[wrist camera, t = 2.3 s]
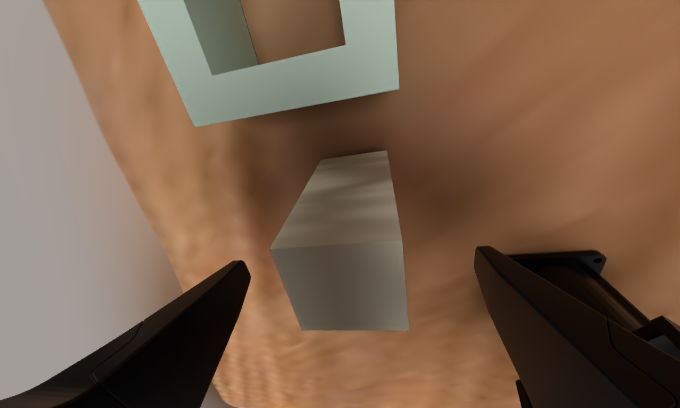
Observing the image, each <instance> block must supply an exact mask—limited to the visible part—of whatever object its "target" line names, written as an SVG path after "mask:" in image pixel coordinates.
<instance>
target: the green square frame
mask: <svg viewBox="0 0 680 408" xmlns="http://www.w3.org/2000/svg"><path fill="white" fill-rule="evenodd" d="M137 1H138V3H139V5H140V7H141V10H142V12H143V14H144V16H145V18H146V21H147V23H148V25H149V27H150V30H151V32H152V34H153V36H154V38H155V41H156V43H157V45H158V47H159V49H160V52H161V54H162V56H163V58H164V61H165V63H166V65H167V67H168V69H169V72H170V74H171V76H172V78H173V81H174V83H175V85H176V87H177V89H178V92H179V94H180V96H181V98H182V101H183V103H184V105H185V107H186V109H187V112H188V114H189V116H190V118H191V120H192V123H193V125H194V127H199V126H204V125H209V124H215V123H220V122H226V121H231V120H236V119H242V118H247V117H252V116H258V115H263V114H268V113H274V112H279V111H285V110H290V109H295V108H301V107H306V106H311V105H317V104H322V103H327V102H333V101H338V100H344V99H349V98H354V97H360V96H365V95H370V94H376V93H381V92H386V91H392V90H397V89H399V76H398V59H397V42H396V26H395V9H394V0H339V1H340V8H341V15H342V22H343V29H344V36H345V43H346V45H343V46H339V47H335V48H330V49H326V50H322V51H317V52H313V53H309V54H304V55H300V56H296V57H291V58H287V59H283V60H278V61H274V62H270V63H265V64H261V65H259V64H258V61H257V57H256V54H255V51H254V47H253V44H252V40H251V37H250V34H249V30H248V27H247V23H246V20H245V17H244V13H243V10H242V7H241V3H240V0H137Z"/></svg>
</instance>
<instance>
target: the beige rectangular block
mask: <svg viewBox="0 0 680 408" xmlns="http://www.w3.org/2000/svg"><path fill="white" fill-rule="evenodd" d="M269 250H270V252H271V255H272V257H273V260H274V262H275V265H276V267H277V270H278V272H279V275H280V277H281V280H282V282H283V285H284V287H285V290H286V292H287V295H288V297H289V299H290V302H291V304H292V307H293V309H294V312H295V314H296V317H297V319H298V322H299V324H300V327H301V329H302V330H409V325H408V312H407V298H406V285H405V271H404V258H403V244H402V236H401V230H400V224H399V218H398V212H397V207H396V201H395V195H394V189H393V183H392V177H391V171H390V165H389V160H388V154H387V150H386V151H379V152H372V153H365V154H358V155H351V156H343V157H336V158H329V159H322V160H321V161H320V162H319V164H318V166H317V167H316V169H315V171H314V173H313V174H312V176H311V178H310V180H309V181H308V183H307V185H306V186H305V188H304V190H303V192H302V193H301V195H300V197H299V199H298V200H297V202H296V204H295V206H294V207H293V209H292V211H291V212H290V214H289V216H288V218H287V219H286V221H285V223H284V225H283V226H282V228H281V230H280V231H279V233H278V235H277V237H276V238H275V240H274V242H273V244H272V245H271V247H270V249H269Z"/></svg>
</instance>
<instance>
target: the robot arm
mask: <svg viewBox="0 0 680 408" xmlns="http://www.w3.org/2000/svg"><path fill="white" fill-rule="evenodd" d="M605 262H606V257H605V256H604V255H603V254H601V253H600V252H576V253H557V254H537V255H518V256H505V255H504V254H502V253H501V252H499V251H497V250H496V249H494V248H492V247H491V246H478V247H477V248H476V250H475V259H474V269H475V273H476V276H477V279H478V282H479V285H480V288H481V291H482V294H483V297H484V299H485V302H486V305H487V308H488V311H489V313H490V316H491V318H492V320H493V322H494V324H495V327H496V329H497V331H498V333H499V335H500V337H501V339H502V341H503V344H504V346H505V348H506V350H507V352H508V354H509V356H510V358H511V360H512V363H513V365H514V367H515V369H516V371H517V373H518V375H519V377H520V379H519V380H517V381H516V386H517V390H518V394H519V398H520V403H521V407H522V408H680V326H678V325H677V324H675V323H674V322H672V321H670V320H669V319H667V318H666V317H664V316H659V317H657V318H655V319H653V320H649V319H648V318H647V317H646V316H645V315H643V314H642V313H641V312H640V311H639V310H638V309H637V308H636V307H635V306H634V305H632V304H631V303H630V302H629V301H628V300H627V299H626V298H625V297H624V296H622V295H621V294H620V293H619V292H618V291H617V290H616V289H615V288H614V287H613V286H611V285H610V284H609V283H608V282H607V281H606V280H605V279H604V278H603V277H602V276H600V273H601V271H602V269H603V266H604V264H605ZM250 280H251V275H250V273H249V271H248V268H247V266H246V264H245V262H244V261H242V260H238V261H232V262H231V263H229V264H228V265H226V266H225V267H223V268H222V269H220V270H219V271H217V272H216V273H214V274H213V275H211V276H209V277H208V278H206V279H205V280H203V281H202V282H200V283H199V284H197V285H196V286H194V287H193V288H191V289H190V290H188V291H187V292H185V293H184V294H182V295H181V296H180V297H178V298H177V299H175V300H173V301H172V302H170V303H169V304H167V305H166V306H164V307H163V308H161V309H160V310H158V311H157V312H155V313H154V314H152V315H151V316H149V317H148V318H146V319H145V320H144V321H142V322H140V323H139V324H137V325H136V326H134V327H133V328H131V329H129V330H128V331H126V332H125V333H123V334H122V335H120V336H119V337H117V338H116V339H114V340H112V341H111V342H109V343H108V344H106V345H104V346H103V347H101V348H99V349H98V350H96V351H95V352H93V353H91V354H90V355H88V356H87V357H85V358H83V359H81V360H80V361H78V362H77V363H75V364H73V365H72V366H70V367H68V368H67V369H65V370H63V371H62V372H60V373H58V374H57V375H55V376H53V377H52V378H50V379H49V380H47V381H45V382H43V383H42V384H40V385H38V386H36V387H34V388H32V389H30V390H28V391H25V392H23V393H21V394H18V395H15V396H12V397H9V398H6V399H3V400H0V408H200V407H201V404H202V402H203V400H204V397H205V395H206V393H207V390H208V388H209V386H210V383H211V381H212V379H213V376H214V374H215V371H216V369H217V367H218V364H219V362H220V360H221V357H222V355H223V353H224V350H225V348H226V346H227V343H228V341H229V338H230V336H231V334H232V331H233V329H234V327H235V324H236V322H237V320H238V317H239V314H240V312H241V309H242V306H243V302H244V299H245V296H246V293H247V290H248V287H249V283H250Z"/></svg>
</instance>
